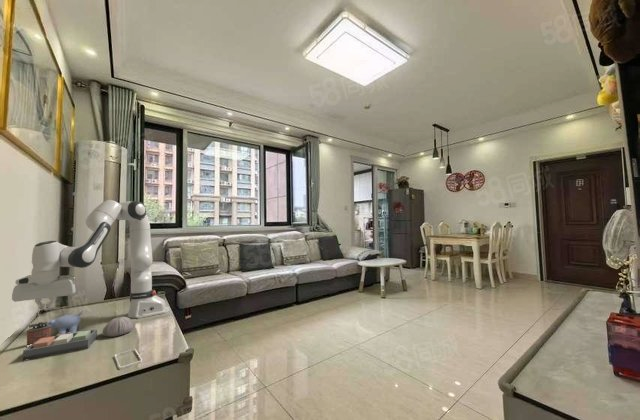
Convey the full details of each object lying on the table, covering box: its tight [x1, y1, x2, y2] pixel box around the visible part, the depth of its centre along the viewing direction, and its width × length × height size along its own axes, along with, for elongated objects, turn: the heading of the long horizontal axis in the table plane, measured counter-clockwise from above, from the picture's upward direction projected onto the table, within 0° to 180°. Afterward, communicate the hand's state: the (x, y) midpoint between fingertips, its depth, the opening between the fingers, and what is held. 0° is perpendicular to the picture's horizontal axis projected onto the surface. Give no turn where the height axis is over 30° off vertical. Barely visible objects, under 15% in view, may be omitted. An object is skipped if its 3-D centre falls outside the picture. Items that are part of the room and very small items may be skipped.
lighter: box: [26, 321, 52, 345], centre depth 127 cm, size 8×3×10 cm, turn 141°
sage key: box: [73, 329, 92, 341], centre depth 124 cm, size 4×7×2 cm, turn 27°
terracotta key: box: [33, 335, 56, 348], centre depth 118 cm, size 4×7×2 cm, turn 27°
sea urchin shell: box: [102, 316, 136, 338], centre depth 137 cm, size 13×14×8 cm
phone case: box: [114, 348, 143, 370], centre depth 108 cm, size 7×1×15 cm
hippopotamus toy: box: [47, 310, 84, 336], centre depth 141 cm, size 11×15×10 cm
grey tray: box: [22, 328, 98, 361], centre depth 121 cm, size 21×14×4 cm, turn 117°
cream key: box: [54, 333, 73, 345], centre depth 121 cm, size 4×7×2 cm, turn 27°
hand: (45, 308), depth 119 cm, fingers closed
